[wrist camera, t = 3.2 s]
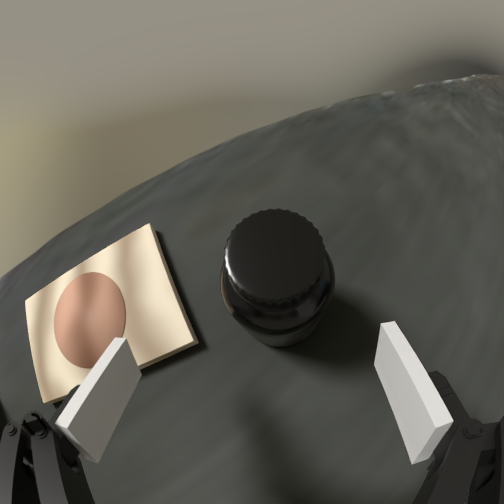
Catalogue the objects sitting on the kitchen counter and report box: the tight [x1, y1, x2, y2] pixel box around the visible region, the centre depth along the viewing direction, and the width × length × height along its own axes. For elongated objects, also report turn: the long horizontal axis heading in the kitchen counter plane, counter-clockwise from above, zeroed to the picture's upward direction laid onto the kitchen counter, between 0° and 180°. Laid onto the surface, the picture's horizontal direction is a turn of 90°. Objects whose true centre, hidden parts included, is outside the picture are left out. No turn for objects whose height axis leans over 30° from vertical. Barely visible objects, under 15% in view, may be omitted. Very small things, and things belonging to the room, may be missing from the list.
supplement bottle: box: [220, 209, 335, 347], centre depth 18 cm, size 7×7×12 cm
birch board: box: [25, 224, 199, 403], centre depth 24 cm, size 20×13×2 cm, turn 117°
